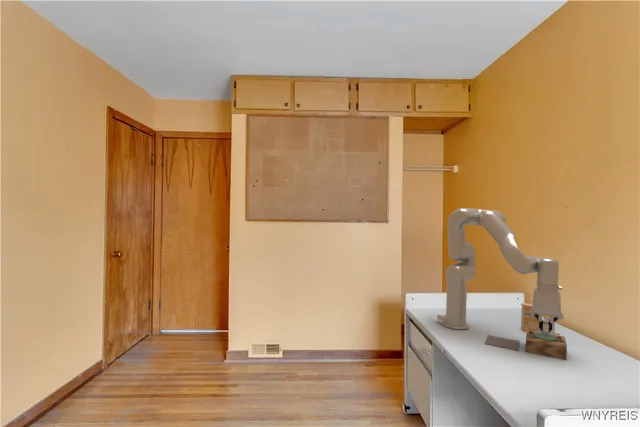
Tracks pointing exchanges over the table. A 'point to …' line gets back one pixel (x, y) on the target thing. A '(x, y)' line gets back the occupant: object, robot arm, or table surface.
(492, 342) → the mat
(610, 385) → the table surface
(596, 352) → the table surface
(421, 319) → the table surface
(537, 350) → the tray
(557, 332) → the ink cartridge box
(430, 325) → the table surface
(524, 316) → the supplement box
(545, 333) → the cover
